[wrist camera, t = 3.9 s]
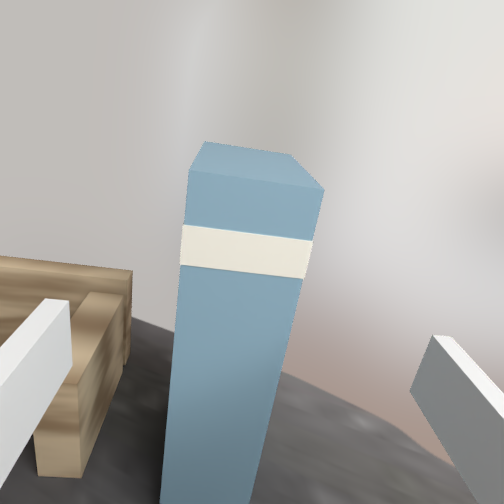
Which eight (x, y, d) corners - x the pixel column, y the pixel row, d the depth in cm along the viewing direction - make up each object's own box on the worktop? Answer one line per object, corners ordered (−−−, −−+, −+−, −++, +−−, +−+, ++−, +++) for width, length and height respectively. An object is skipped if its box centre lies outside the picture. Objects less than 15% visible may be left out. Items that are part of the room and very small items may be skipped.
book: (245, 522, 25) (325, 190, 16) (157, 519, 25) (187, 169, 15) (241, 408, 35) (291, 154, 25) (177, 403, 34) (203, 141, 25)
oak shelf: (81, 478, 26) (76, 371, 22) (-163, 466, 25) (-214, 347, 21) (130, 352, 39) (132, 270, 35) (-28, 338, 37) (-44, 250, 34)
